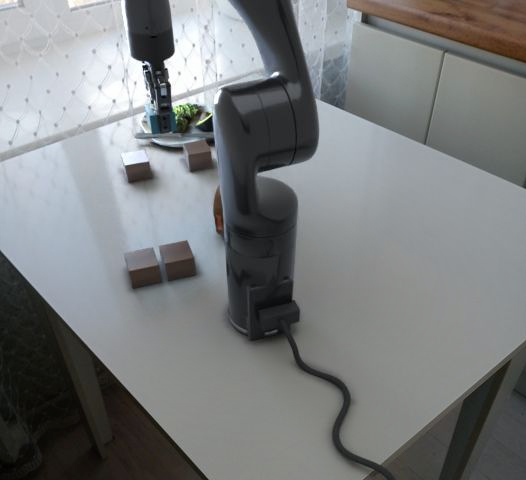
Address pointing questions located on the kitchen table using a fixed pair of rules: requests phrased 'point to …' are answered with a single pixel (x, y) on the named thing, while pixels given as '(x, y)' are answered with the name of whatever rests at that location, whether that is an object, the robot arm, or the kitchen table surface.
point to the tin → (218, 212)
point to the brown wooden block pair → (147, 268)
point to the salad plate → (183, 126)
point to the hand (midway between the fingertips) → (162, 125)
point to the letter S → (153, 121)
